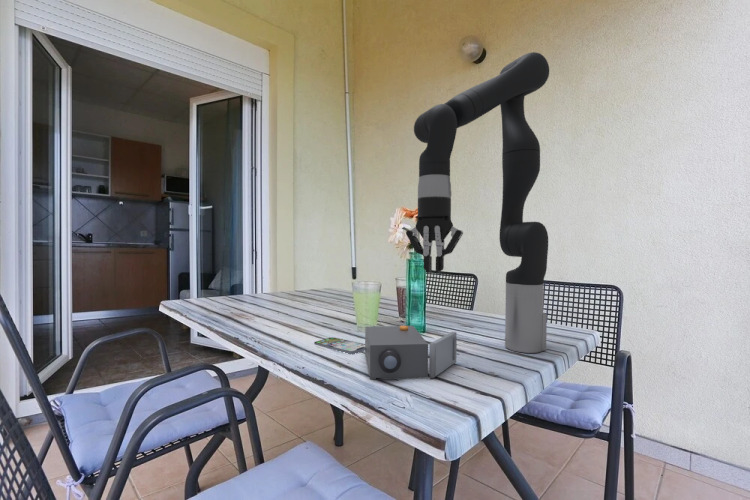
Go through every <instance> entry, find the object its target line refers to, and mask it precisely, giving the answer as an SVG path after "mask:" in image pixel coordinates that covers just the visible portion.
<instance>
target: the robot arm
mask: <svg viewBox="0 0 750 500" xmlns="http://www.w3.org/2000/svg"><path fill="white" fill-rule="evenodd" d="M549 77H550V66H549V62H548V59H546V57H545V56H544V55H543V54H542V53H539V52H536V51H533V52H532V51H531V52H528V53H525V54H523V55H521V56H520V57H518V58H517V59H516V58H515V59H514V60H513V61H511V62H510V63H508V64H506V65H505V66H504V67H503V68H502V69H501V70H500V72H499V74H497V75H496V76H495V77H492V78H490V79H488V80H486V81H483V82H481V83H479V84H476V85H474V86H472V87H471V88H468V89H466V90H465V91H462V92H461V93H458V94H457V95H455V96H453V97H452V98H450V99H449V100H448V101H446V102H445V103H439V104H435V105H434V106H433V107H431V108H429V109H428V110H425V111H424V112H423V113H421V114H420V115H419V116H418V117H417V118H416V120H415V122H414V125H413V132H414V136H415V137H416V139H417V140H418V141H420V142H421V143H424V144H426V148H425V149H424V150H423V152H422V153H420V156H419V160H418V182H417V183H418V184H417V221H416V224H415V226H414V227H413V228H412V229H409V230H406V231H405V234H406V237H407V239H408V240H409V242H410V244H411V246H412V247H413V249H414V251H415V253H416V254H420V255H422V256H423V270H424V271H425V272H426V273H427V274H428V273H429V274H430V273H432V271H433V269H432V268H433V267H432V265H433V263H432V261H433V259H432V258H433V257H432V246H433V242H435V247H436V256H435V273H436V274H440V273H441V272H442V271H443V270H444V265H445V261H444V260H445V256H446V255H449V254H452V253H453V251H454V250H455V248H456V246H457V245H458V243H459V241H460V240H461V238H462V237H463V235H464V232H463V230H460V229H458V228H456V227H455V226H454V224H453V222H452V184H451V183H452V181H451V156H452V152H453V149H454V144H455V140H456V136H457V131H458V130H457V129H458V128H461V127H463V126H466V125H468V124H470V123H472V122H473V121H475V120H477V119H479V118H481V117H483V116H484V115H486V114H488V113H489V112H491V111H493V110H494V109H496V108H497V107H499V106H500V115H501V127H502V128H501V131H502V132H501V134H502V151H501V153H502V155H501V157H502V162H501V165H502V166H501V168H502V169H501V170H502V202H501V204H502V205H501V215H500V224H499V225H500V226H499V246H500V248H501V251H502V252H503V254H505V255H506V256H508V257H513V258H516V257H517V258H521V259H520V264H519V265H517V267H516V268H513V269H511V270H509V271H507V272H506V274H505V316H504V317H505V319H504V325H505V326H504V346H505V349H508V350H511V351H513V352H517V353H518V352H519V353H525V354H528V353H529V354H536V353H541V352H543V351H547V331H548V330H547V329H548V327H547V325H548V324H547V322H548V319H547V318H548V315H547V313H545V312H544V300H545V299H544V294H545V293H544V292H545V291H544V289H545V288H544V287H545V285H544V283H545V282H544V281H545V280H544V279H545V277H546V274H547V269H548V256H549V255H548V254H549V253H548V252H549V234H548V231H547V228H546V226H545V225H544V224H543V223H542V222H540V221H523V220H524V207H525V203H526V201H527V198H528V195H529V194H530V192H531V190H532V189H533V186H534V185H535V183H536V182H537V179H538V177H539V174H540V171H541V145H540V141H539V140H538V137H537V135H536V134H535V132H534V131H533V129H532V128H531V126H530V125H529V122H528V121H527V119H526V116H525V96H528V95H531V94H532V93H534V92H536V91H538V90H540V89H541V88H542V87H543V86H545V84H546V82H547V81H548V80H549ZM450 232H451V233H450ZM449 234H450V237H451V239H450V241H449V242H448V244H447V245H446V247H445V243H446V242H445V239H446V238H447V237H448V235H449ZM419 235H420V236H421V237H422V239H423V240H422V244H421V242H420V240H419V239H418V237H419Z"/></svg>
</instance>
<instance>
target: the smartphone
mask: <svg viewBox="0 0 750 500" xmlns="http://www.w3.org/2000/svg"><path fill="white" fill-rule="evenodd" d="M313 343H314V345H315V346H320V347H323V348H325V349H329V350H333V351H336V350H337V352H339V351H341V353H343V352H345V353H344V354H346V353H348V354H347V355H351V354H352V355H356V354H359V353H361V351H362V352H365V351H364V350H365V343H362V342H361V343H360V342H358V341H354V340H353V341H352V340H348V339H342V338H338V337H328V338H323V339H320V340H317V341H314V342H313ZM358 352H359V353H358ZM355 353H356V354H355Z"/></svg>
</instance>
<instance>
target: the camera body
mask: <svg viewBox="0 0 750 500" xmlns="http://www.w3.org/2000/svg"><path fill="white" fill-rule="evenodd" d="M364 329H365V331H364V335H365V336H364V337H365V342H364V344H365V351H364V355H365V360H366V366H367V372H368V376H370V377H369V380H377V379H376V378H400V379H420V378H419V377H428V378H429V343H428V342H427V341H426V339H424V337H423V336H422V334H421V333H420V332H419V331H418V330H417V328H416V327H415V326H414V325H391V326H390V325H384V326H381V325H380V326H379V325H377V326H365V328H364Z"/></svg>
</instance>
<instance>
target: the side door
mask: <svg viewBox="0 0 750 500" xmlns="http://www.w3.org/2000/svg"><path fill="white" fill-rule="evenodd" d="M457 334H458V333H457V332H456V331H452V332H449V333H447V334H446V335H443V336H442V337H440V338H438V339H435V340H433V341H432V342H430V343H429V358H428V378H432V379H433V378H436V377H437V376H438V375H439V374H441V373H442V372H444V371H445V370H446V369H448V368H449V367H451V366H452V365H454V364H455V363H457V352H458V351H457V345H458V344H457Z"/></svg>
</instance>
